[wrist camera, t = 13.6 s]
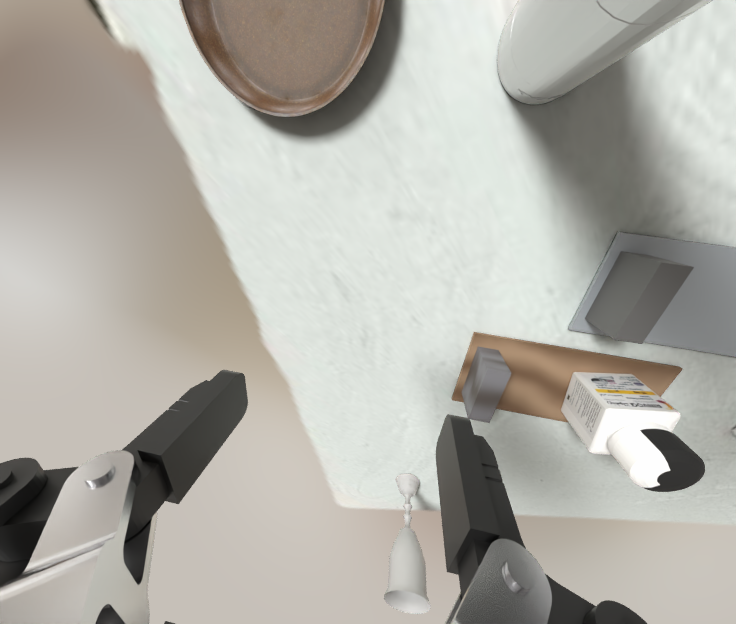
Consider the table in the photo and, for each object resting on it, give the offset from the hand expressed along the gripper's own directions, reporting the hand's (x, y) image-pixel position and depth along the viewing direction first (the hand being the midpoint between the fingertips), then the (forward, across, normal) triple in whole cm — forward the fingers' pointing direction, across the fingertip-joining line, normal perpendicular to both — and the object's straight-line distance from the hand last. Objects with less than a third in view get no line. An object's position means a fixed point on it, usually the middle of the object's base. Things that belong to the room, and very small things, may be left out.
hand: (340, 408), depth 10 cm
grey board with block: (+28, -40, 0) cm, 49 cm away
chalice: (+28, -11, +47) cm, 56 cm away
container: (+28, -34, +16) cm, 46 cm away
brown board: (+28, -28, +16) cm, 43 cm away
